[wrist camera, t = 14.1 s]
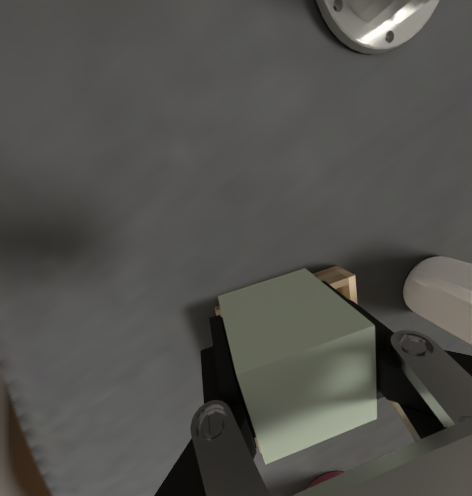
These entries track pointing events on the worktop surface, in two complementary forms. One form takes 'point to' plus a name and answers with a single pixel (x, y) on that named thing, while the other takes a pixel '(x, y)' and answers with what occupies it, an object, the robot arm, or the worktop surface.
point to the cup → (442, 294)
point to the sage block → (300, 361)
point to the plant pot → (325, 478)
